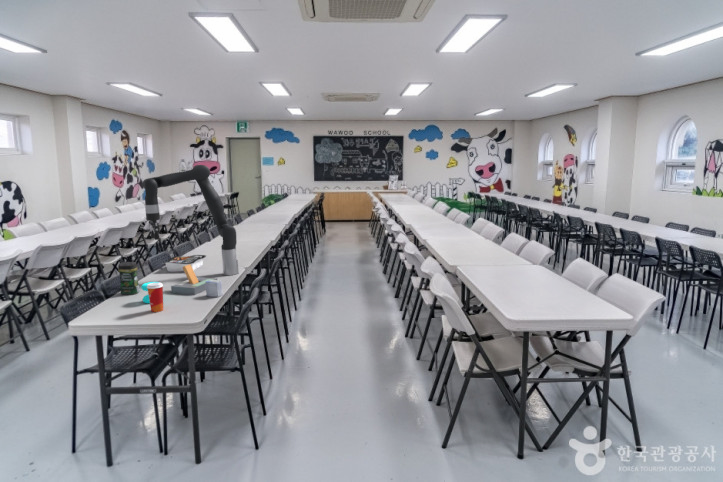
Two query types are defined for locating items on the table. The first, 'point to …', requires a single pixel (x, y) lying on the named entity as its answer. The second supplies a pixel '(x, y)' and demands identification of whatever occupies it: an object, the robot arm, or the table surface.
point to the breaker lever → (190, 274)
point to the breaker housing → (191, 286)
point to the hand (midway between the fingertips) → (155, 238)
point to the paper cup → (155, 296)
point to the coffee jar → (128, 278)
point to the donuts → (144, 287)
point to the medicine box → (214, 288)
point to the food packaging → (184, 262)
